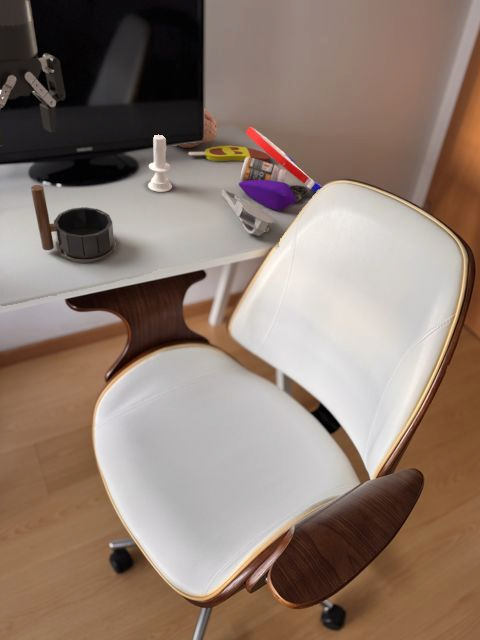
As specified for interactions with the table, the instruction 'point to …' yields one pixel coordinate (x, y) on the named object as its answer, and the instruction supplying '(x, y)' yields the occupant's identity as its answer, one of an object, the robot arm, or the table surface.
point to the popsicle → (232, 153)
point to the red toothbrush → (281, 158)
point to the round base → (86, 260)
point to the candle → (159, 166)
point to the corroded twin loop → (299, 191)
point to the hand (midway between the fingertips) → (24, 137)
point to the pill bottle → (261, 171)
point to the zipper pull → (249, 214)
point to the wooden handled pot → (74, 228)
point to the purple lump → (269, 193)
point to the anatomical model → (205, 130)
